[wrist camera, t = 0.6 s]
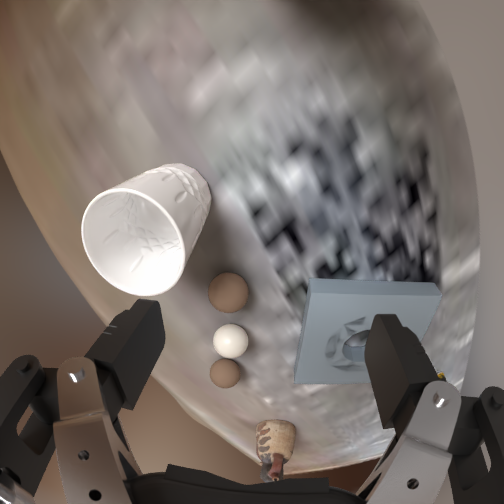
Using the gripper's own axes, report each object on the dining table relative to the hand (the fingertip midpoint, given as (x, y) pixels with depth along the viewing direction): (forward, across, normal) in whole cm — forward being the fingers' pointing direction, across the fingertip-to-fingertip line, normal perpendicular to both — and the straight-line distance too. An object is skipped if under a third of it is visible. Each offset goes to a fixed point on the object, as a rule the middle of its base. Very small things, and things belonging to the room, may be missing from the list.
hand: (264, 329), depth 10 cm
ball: (+17, +4, +15) cm, 23 cm away
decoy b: (+18, +5, +22) cm, 28 cm away
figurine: (+22, -3, +41) cm, 46 cm away
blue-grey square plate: (+19, -11, +14) cm, 26 cm away
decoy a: (+16, +4, +8) cm, 18 cm away
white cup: (+17, +9, -1) cm, 19 cm away
